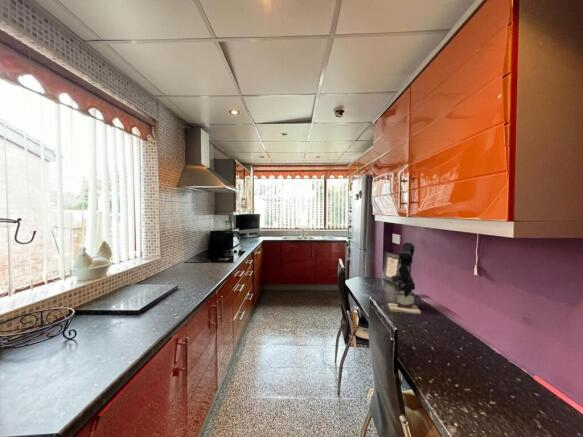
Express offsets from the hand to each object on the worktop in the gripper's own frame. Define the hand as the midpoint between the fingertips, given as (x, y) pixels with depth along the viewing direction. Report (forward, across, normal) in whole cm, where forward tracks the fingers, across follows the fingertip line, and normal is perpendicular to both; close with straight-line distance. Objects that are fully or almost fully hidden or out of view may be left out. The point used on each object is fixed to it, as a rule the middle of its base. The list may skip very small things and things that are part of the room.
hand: (404, 294), depth 174 cm
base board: (+10, 0, 0) cm, 10 cm away
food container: (+8, -2, 0) cm, 9 cm away
